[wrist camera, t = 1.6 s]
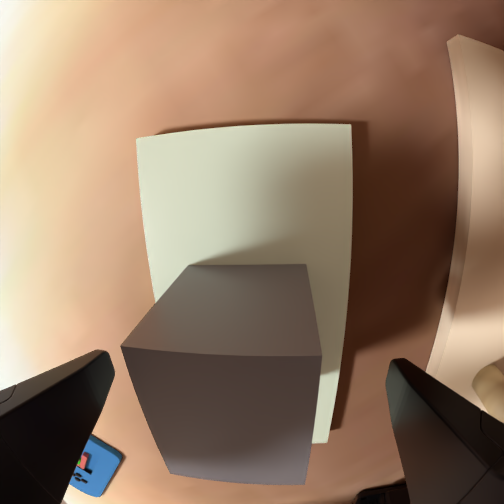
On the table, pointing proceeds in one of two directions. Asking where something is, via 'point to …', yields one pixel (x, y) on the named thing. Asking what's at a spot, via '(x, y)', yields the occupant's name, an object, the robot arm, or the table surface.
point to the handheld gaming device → (95, 467)
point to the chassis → (476, 235)
